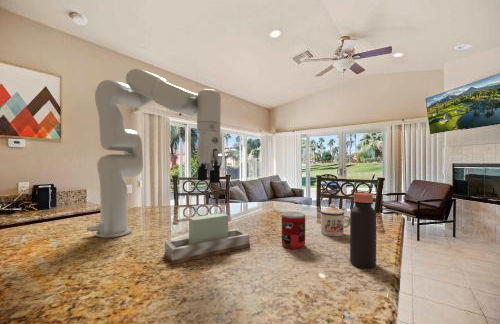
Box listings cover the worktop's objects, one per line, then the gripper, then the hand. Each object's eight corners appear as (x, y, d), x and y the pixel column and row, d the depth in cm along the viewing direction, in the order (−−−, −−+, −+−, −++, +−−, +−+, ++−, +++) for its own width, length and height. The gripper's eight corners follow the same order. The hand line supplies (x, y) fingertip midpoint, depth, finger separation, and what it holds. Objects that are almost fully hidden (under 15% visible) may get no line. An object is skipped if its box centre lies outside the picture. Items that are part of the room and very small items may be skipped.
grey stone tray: (173, 264, 71) (173, 250, 70) (164, 253, 78) (164, 241, 78) (249, 246, 85) (250, 234, 85) (236, 239, 93) (236, 228, 93)
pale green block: (193, 252, 77) (193, 220, 76) (189, 248, 80) (189, 217, 80) (228, 245, 83) (228, 215, 83) (222, 242, 87) (222, 213, 86)
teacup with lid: (323, 236, 96) (323, 206, 95) (317, 230, 105) (318, 202, 105) (355, 237, 95) (355, 206, 95) (346, 230, 104) (347, 202, 104)
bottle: (374, 271, 66) (375, 196, 66) (347, 265, 70) (348, 194, 70) (377, 262, 72) (377, 193, 72) (352, 257, 76) (352, 191, 75)
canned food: (279, 242, 89) (279, 211, 89) (301, 241, 90) (301, 211, 90) (284, 250, 82) (284, 216, 82) (308, 249, 82) (308, 216, 82)
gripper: (231, 127, 76) (231, 183, 76) (208, 131, 90) (208, 179, 91) (209, 125, 72) (208, 184, 72) (188, 130, 86) (188, 179, 87)
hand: (208, 181), depth 81 cm, fingers open, 9 cm apart
